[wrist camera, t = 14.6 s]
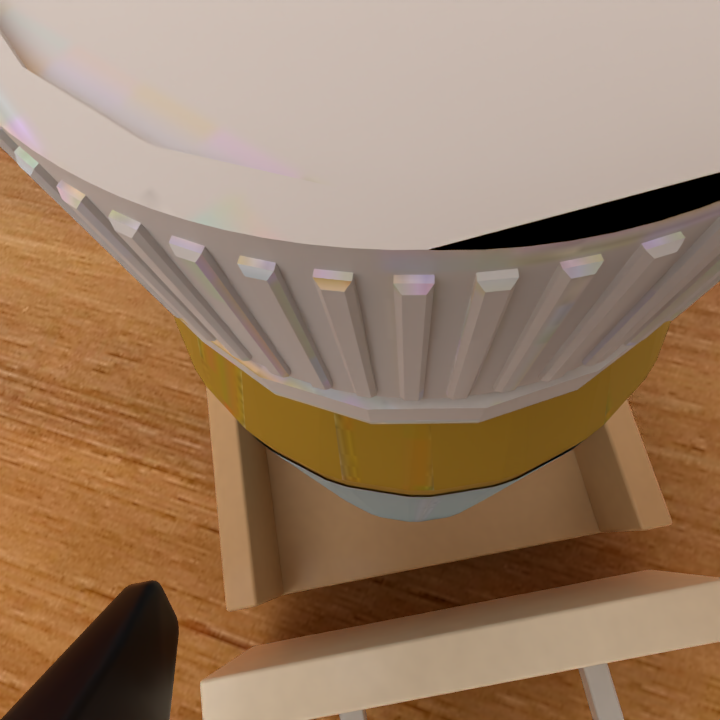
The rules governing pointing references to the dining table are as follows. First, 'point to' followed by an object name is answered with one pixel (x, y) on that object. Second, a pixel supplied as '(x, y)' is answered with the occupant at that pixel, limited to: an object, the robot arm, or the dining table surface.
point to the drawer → (434, 547)
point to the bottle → (390, 211)
